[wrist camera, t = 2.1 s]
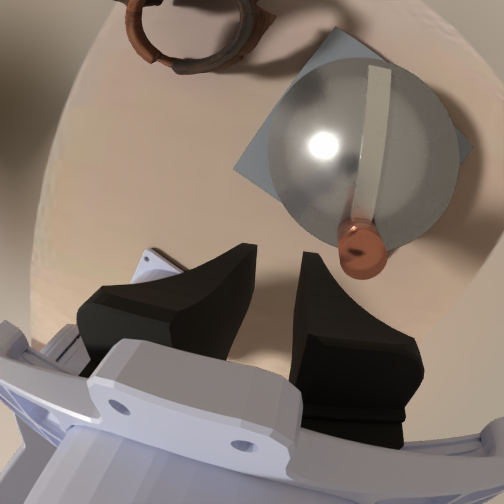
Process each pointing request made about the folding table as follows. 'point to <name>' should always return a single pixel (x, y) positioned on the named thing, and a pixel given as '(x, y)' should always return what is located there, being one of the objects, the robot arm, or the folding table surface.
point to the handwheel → (363, 159)
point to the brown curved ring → (243, 43)
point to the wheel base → (331, 49)
